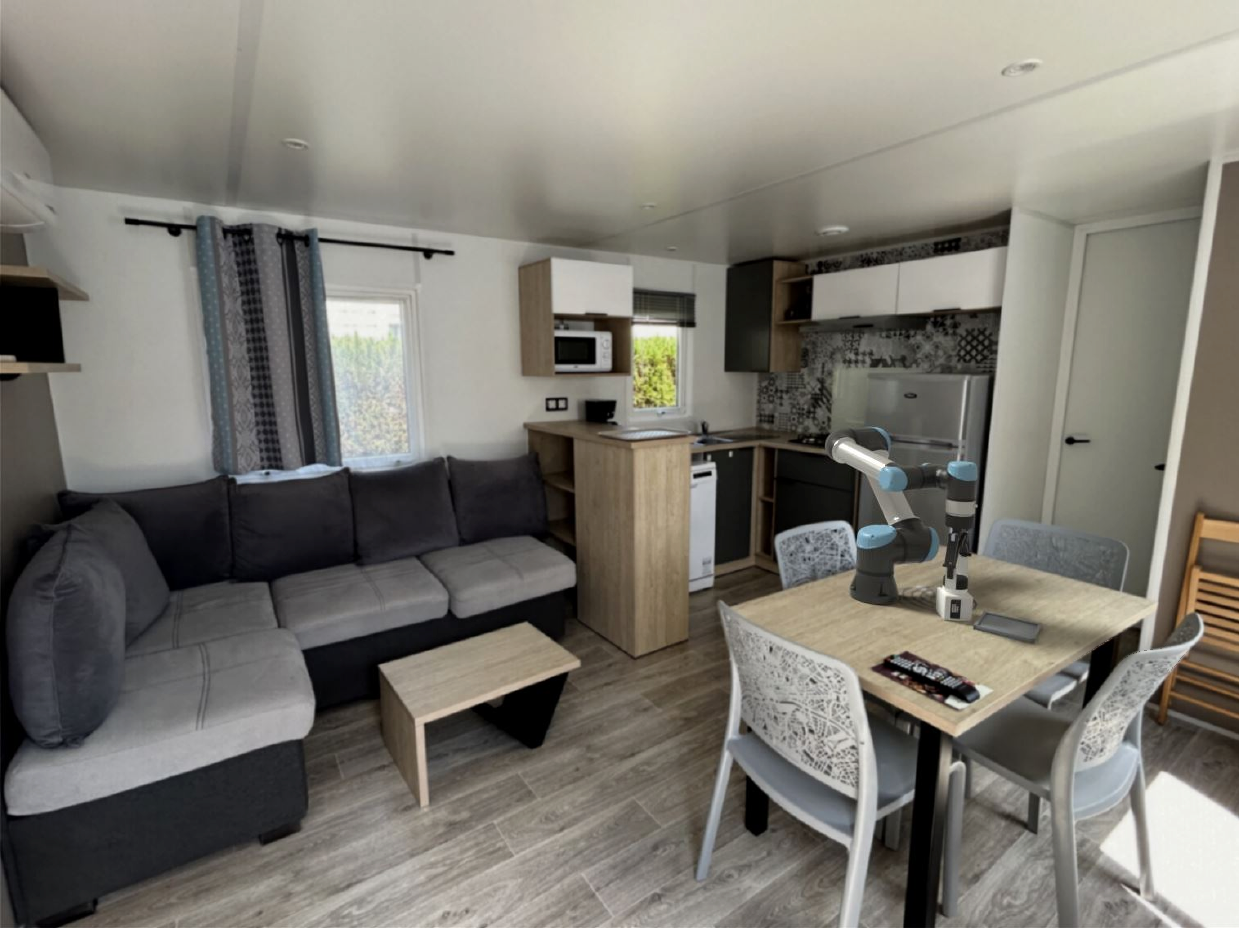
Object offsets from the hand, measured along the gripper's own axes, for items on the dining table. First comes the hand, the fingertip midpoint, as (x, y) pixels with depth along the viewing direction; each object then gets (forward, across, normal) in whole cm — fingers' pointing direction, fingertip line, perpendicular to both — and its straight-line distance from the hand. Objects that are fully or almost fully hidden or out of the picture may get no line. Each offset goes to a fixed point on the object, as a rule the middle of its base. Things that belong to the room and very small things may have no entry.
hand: (956, 582), depth 176 cm
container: (+11, 0, 0) cm, 11 cm away
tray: (+11, 0, -14) cm, 17 cm away
